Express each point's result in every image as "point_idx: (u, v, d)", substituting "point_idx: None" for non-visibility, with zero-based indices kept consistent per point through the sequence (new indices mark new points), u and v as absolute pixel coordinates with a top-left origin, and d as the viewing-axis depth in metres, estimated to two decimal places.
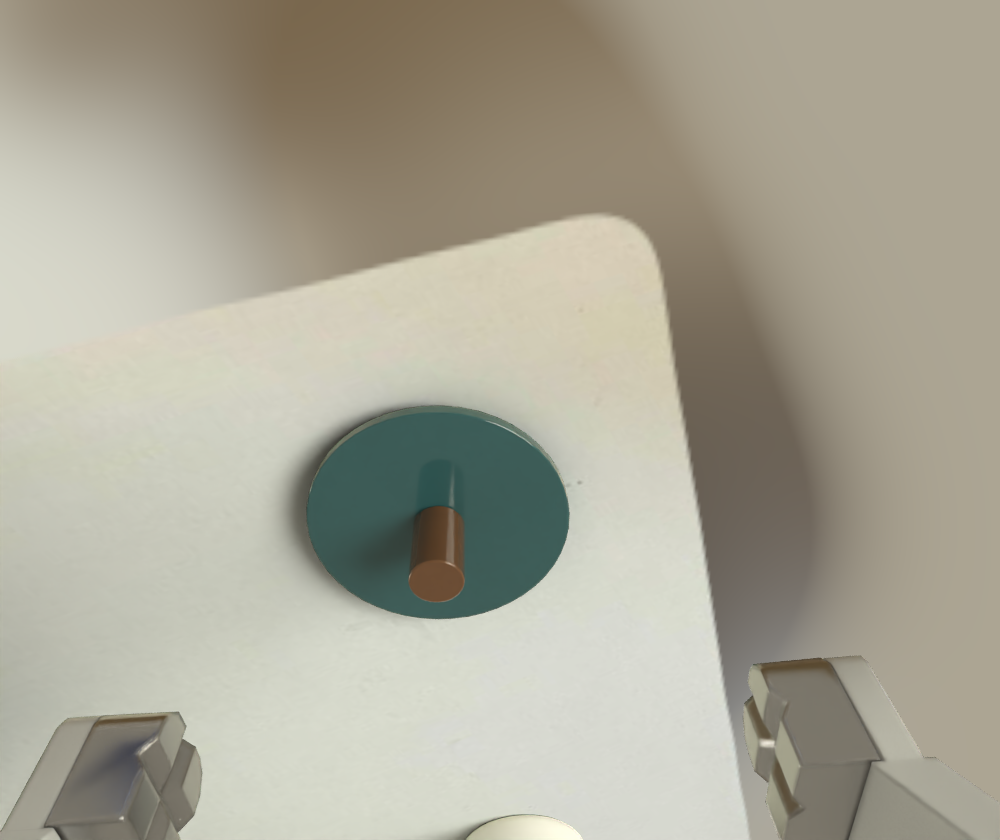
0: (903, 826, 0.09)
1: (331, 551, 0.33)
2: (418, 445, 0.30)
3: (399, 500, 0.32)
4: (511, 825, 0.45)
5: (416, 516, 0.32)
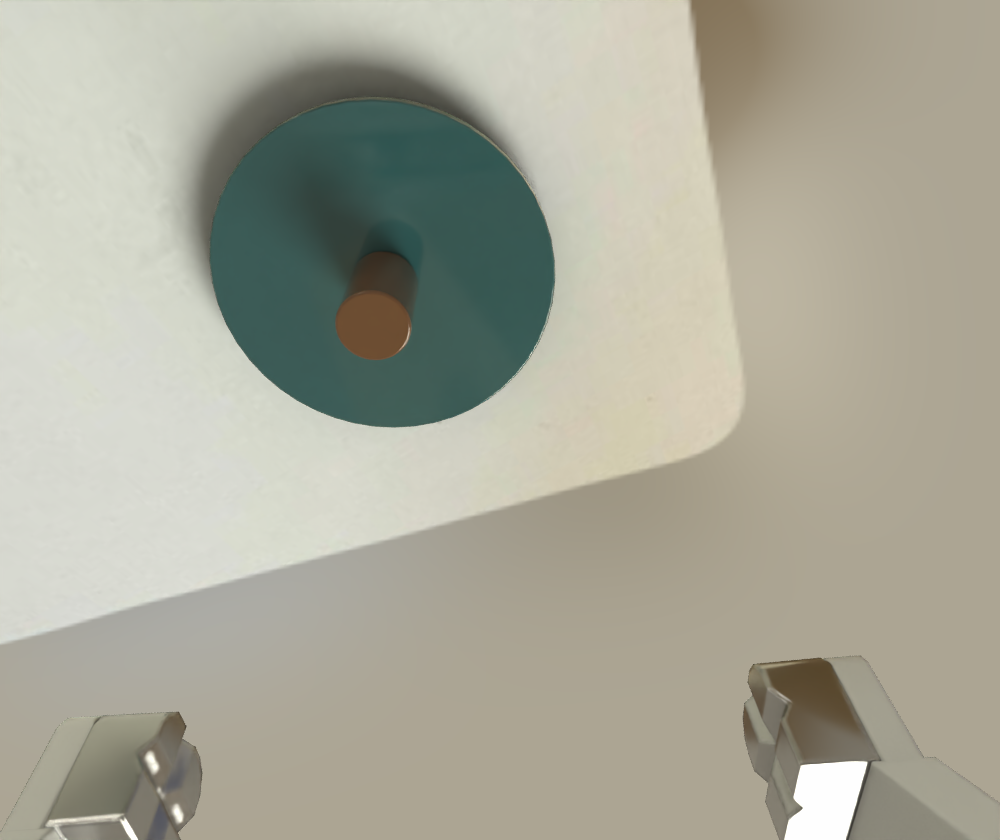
0: (903, 826, 0.09)
1: (320, 134, 0.22)
2: (508, 256, 0.24)
3: (421, 232, 0.24)
4: None
5: (399, 255, 0.24)
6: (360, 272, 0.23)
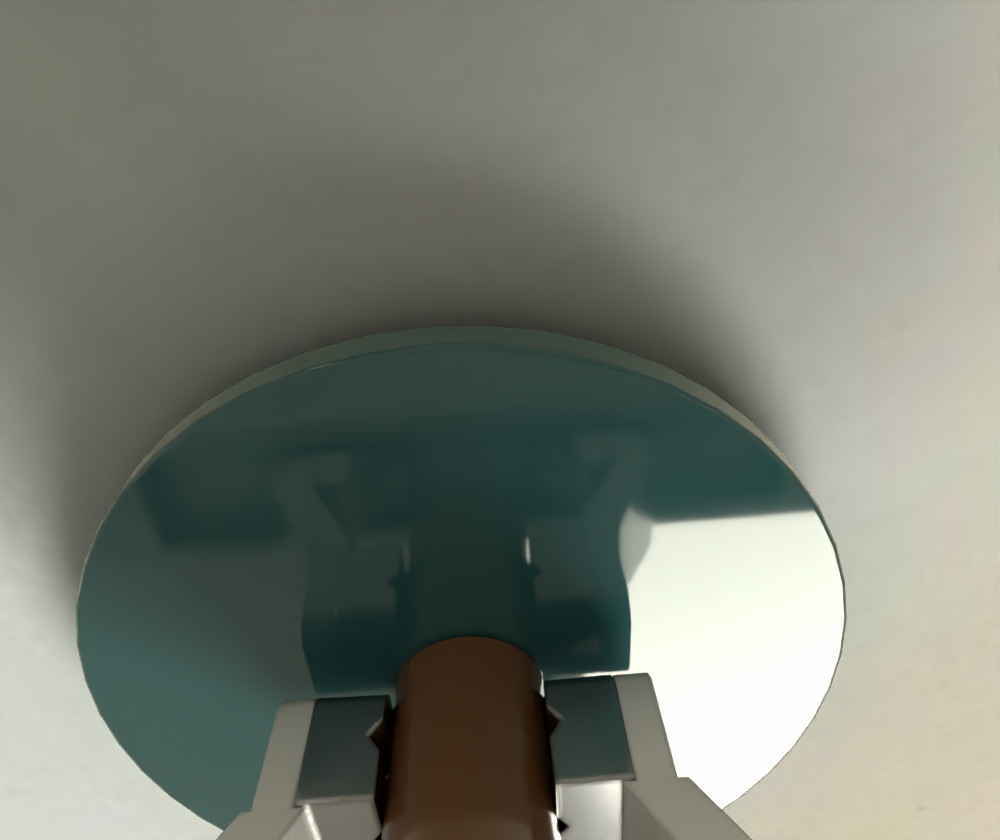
0: None
1: (350, 415, 0.09)
2: (748, 646, 0.11)
3: (565, 603, 0.11)
4: None
5: (510, 645, 0.11)
6: (433, 740, 0.09)
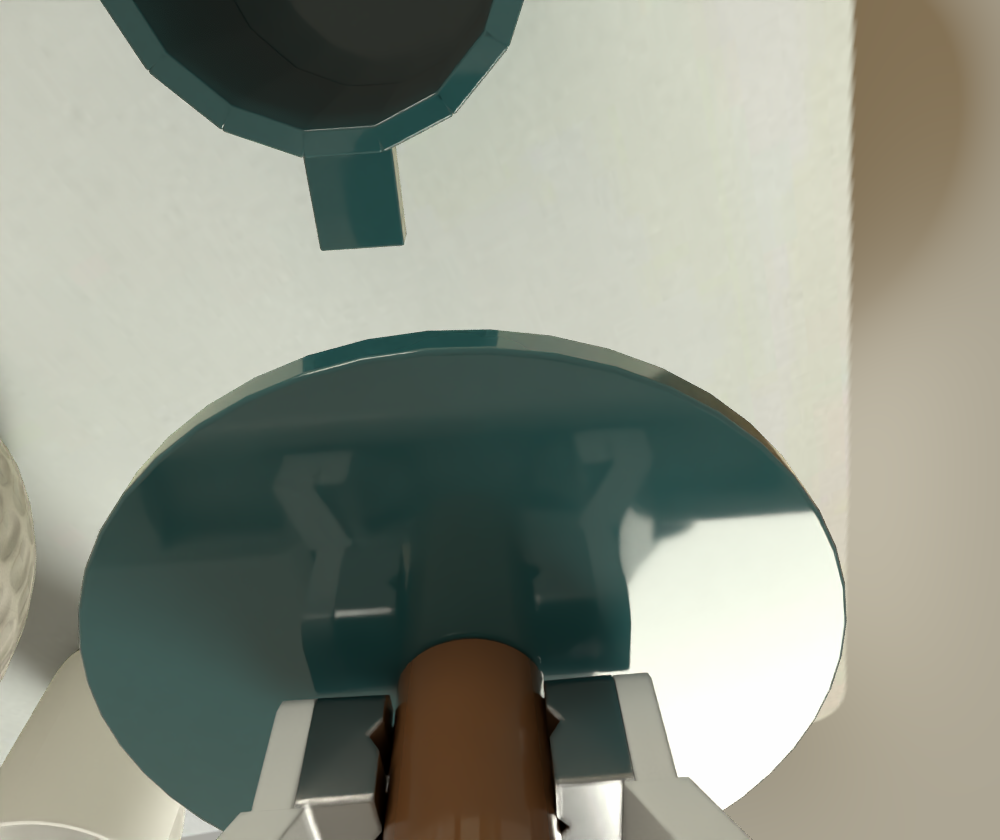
0: None
1: (352, 419, 0.09)
2: (748, 648, 0.11)
3: (566, 606, 0.11)
4: None
5: (511, 648, 0.11)
6: (434, 743, 0.09)
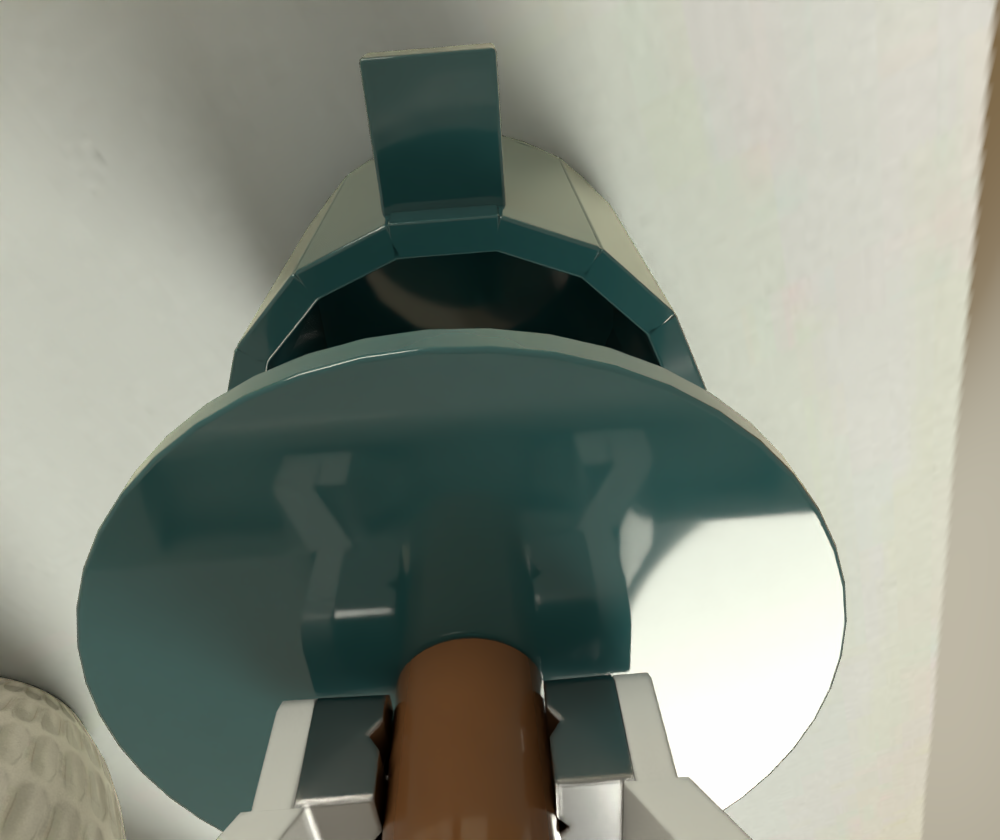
0: None
1: (351, 417, 0.09)
2: (748, 648, 0.11)
3: (565, 605, 0.11)
4: None
5: (510, 647, 0.11)
6: (433, 743, 0.09)
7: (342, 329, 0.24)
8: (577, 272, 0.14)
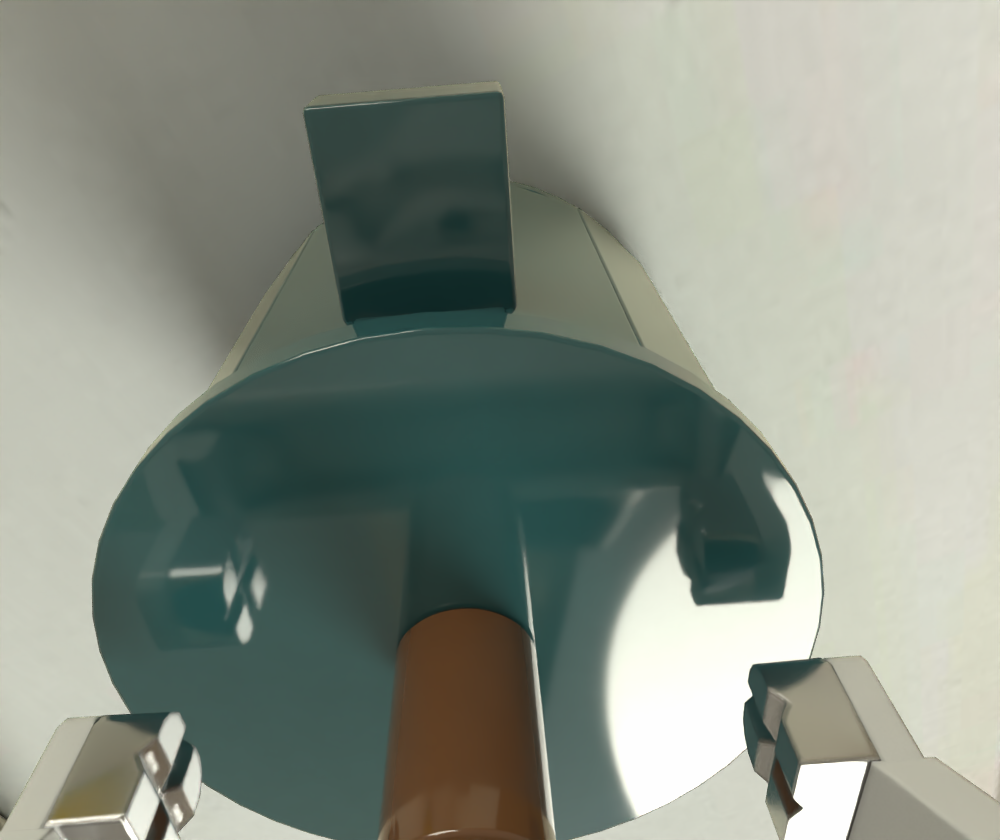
0: (903, 826, 0.09)
1: (352, 395, 0.09)
2: (731, 618, 0.12)
3: (556, 576, 0.11)
4: None
5: (504, 617, 0.11)
6: (430, 703, 0.10)
7: None
8: None
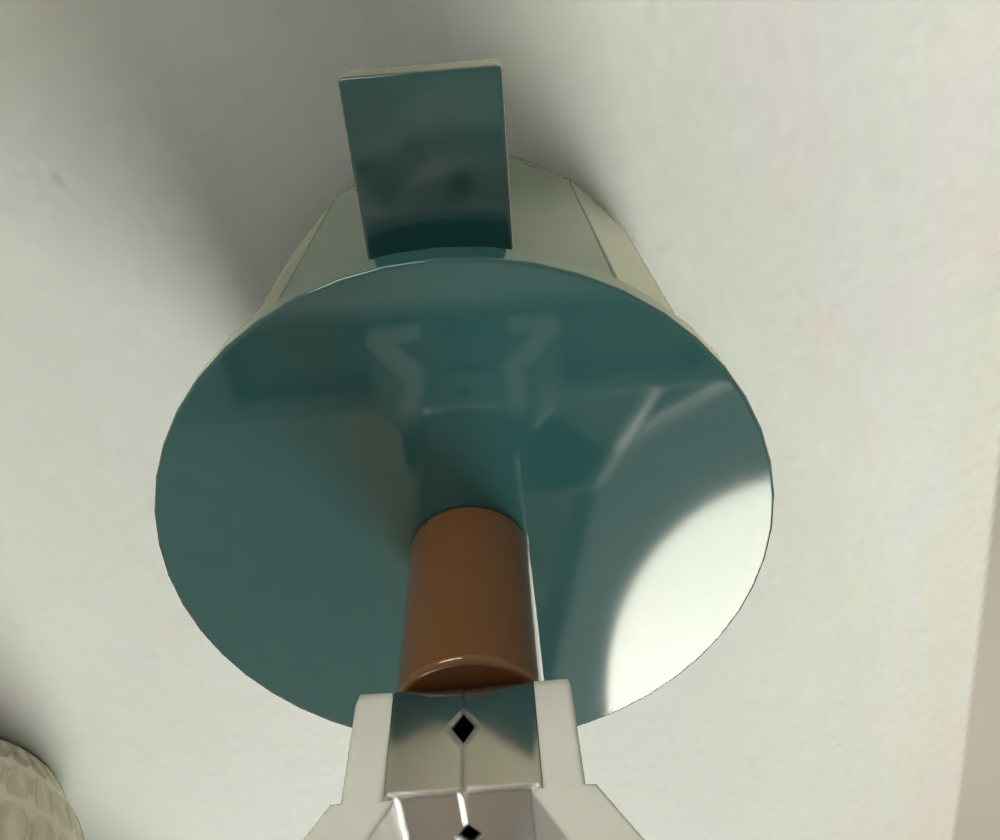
0: None
1: (377, 315, 0.11)
2: (695, 519, 0.14)
3: (546, 479, 0.13)
4: None
5: (502, 515, 0.13)
6: (440, 574, 0.12)
7: None
8: None
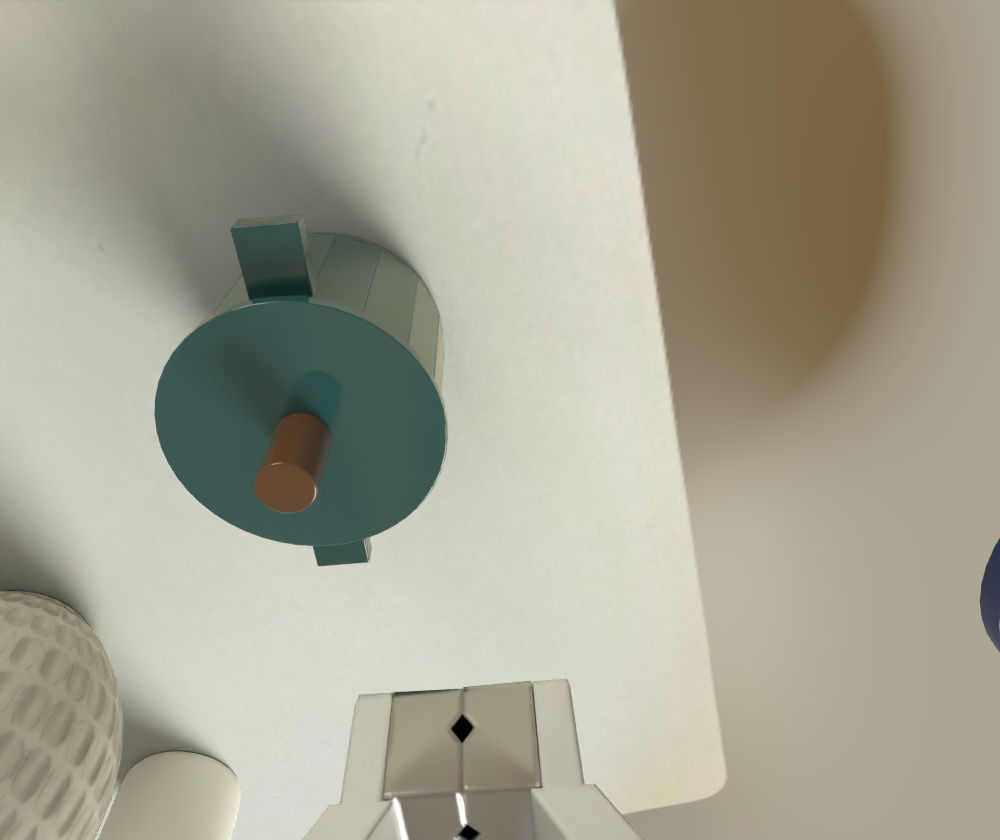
0: None
1: (248, 325, 0.27)
2: (407, 419, 0.29)
3: (334, 399, 0.29)
4: (236, 785, 0.54)
5: (315, 416, 0.29)
6: (279, 437, 0.28)
7: None
8: None
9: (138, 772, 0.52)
